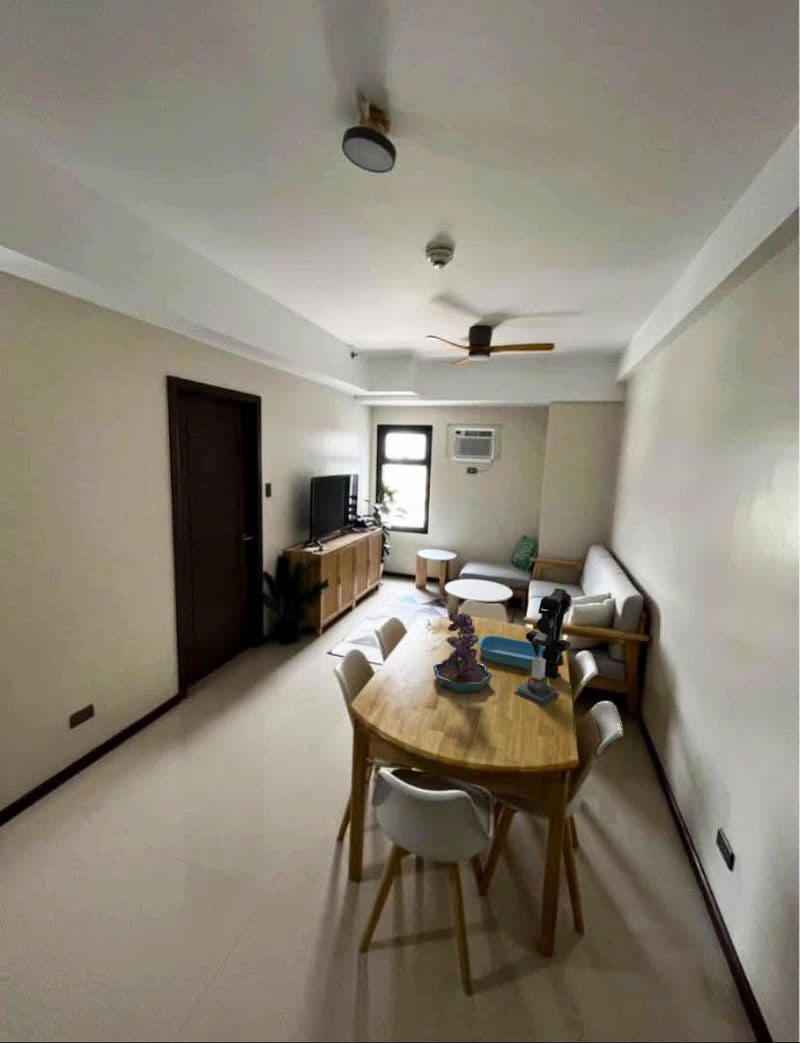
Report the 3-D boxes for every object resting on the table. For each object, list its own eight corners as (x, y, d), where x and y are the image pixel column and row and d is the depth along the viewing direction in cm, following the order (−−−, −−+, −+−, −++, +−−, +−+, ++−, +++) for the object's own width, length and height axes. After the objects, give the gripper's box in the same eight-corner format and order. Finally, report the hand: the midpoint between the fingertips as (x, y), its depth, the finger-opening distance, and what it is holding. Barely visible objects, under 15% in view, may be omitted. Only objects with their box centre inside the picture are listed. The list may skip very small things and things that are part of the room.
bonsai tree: (438, 664, 215) (441, 600, 212) (494, 672, 208) (497, 607, 204) (421, 699, 182) (424, 624, 178) (487, 710, 174) (491, 633, 171)
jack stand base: (530, 682, 199) (531, 668, 198) (559, 694, 189) (560, 679, 188) (513, 692, 189) (514, 677, 188) (543, 705, 179) (545, 690, 178)
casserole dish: (551, 658, 227) (552, 644, 226) (547, 676, 206) (548, 661, 205) (481, 645, 241) (482, 632, 240) (471, 660, 221) (472, 647, 220)
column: (535, 680, 191) (536, 656, 190) (544, 683, 188) (545, 659, 187) (530, 683, 189) (532, 659, 187) (539, 686, 186) (541, 662, 184)
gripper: (520, 623, 194) (518, 656, 195) (560, 635, 180) (558, 671, 182) (533, 618, 201) (530, 650, 203) (572, 629, 188) (569, 663, 190)
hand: (546, 658), depth 194 cm, fingers open, 9 cm apart
